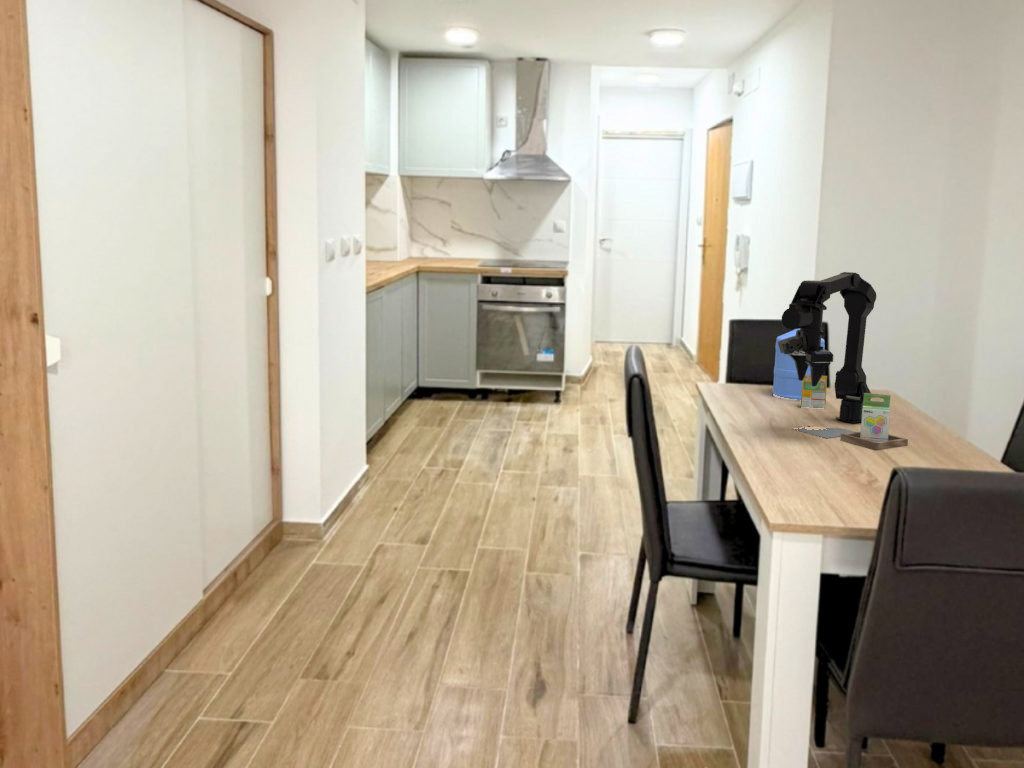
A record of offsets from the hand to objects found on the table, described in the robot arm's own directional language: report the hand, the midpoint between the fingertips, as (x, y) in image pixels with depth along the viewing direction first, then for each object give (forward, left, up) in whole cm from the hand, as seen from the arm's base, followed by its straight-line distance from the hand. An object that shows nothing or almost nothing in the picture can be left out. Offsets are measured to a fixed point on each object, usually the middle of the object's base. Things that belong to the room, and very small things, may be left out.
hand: (807, 383), depth 263 cm
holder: (-9, +16, -15) cm, 24 cm away
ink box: (-9, +16, -15) cm, 24 cm away
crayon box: (-29, -25, -15) cm, 41 cm away
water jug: (-38, -41, -15) cm, 58 cm away
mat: (-8, 0, -15) cm, 17 cm away
